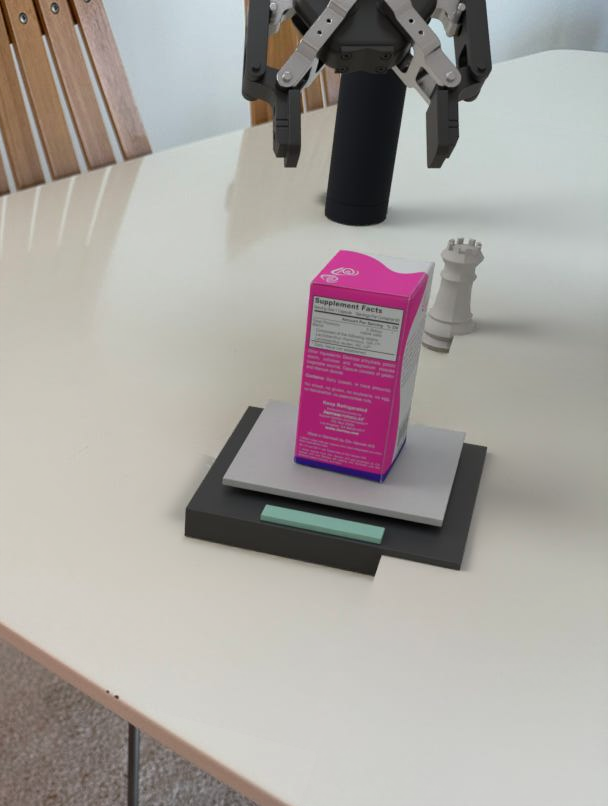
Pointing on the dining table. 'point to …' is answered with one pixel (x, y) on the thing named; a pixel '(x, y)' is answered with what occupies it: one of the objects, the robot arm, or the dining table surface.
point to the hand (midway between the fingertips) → (365, 161)
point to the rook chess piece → (453, 296)
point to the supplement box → (361, 362)
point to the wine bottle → (364, 147)
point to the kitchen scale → (337, 498)
